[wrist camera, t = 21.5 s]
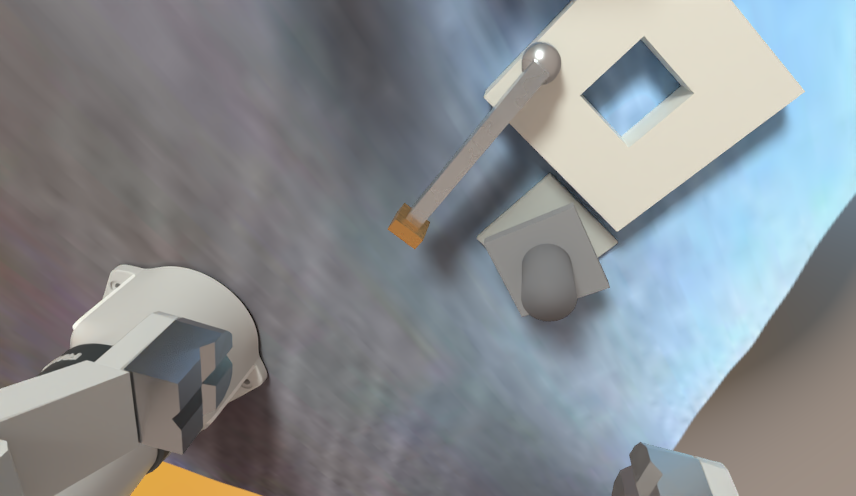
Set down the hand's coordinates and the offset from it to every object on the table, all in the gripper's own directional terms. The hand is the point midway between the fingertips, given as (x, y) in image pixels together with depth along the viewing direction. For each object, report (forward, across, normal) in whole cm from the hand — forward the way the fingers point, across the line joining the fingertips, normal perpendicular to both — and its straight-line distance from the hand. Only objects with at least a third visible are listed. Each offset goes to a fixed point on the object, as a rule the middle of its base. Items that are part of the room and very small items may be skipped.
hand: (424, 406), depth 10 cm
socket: (+31, -9, -3) cm, 32 cm away
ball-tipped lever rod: (+28, +1, +2) cm, 28 cm away
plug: (+31, -7, +10) cm, 33 cm away
